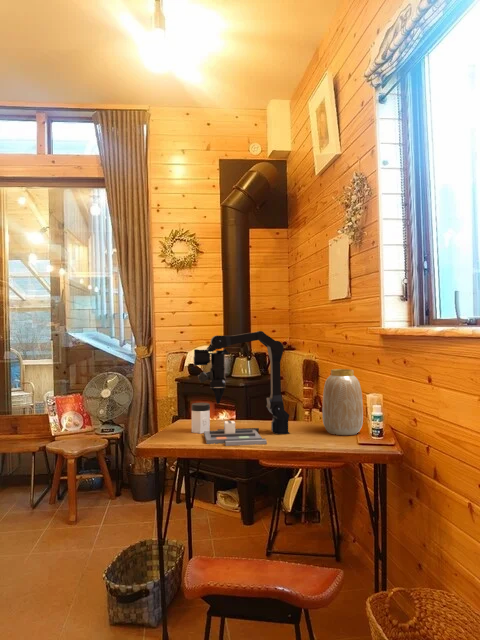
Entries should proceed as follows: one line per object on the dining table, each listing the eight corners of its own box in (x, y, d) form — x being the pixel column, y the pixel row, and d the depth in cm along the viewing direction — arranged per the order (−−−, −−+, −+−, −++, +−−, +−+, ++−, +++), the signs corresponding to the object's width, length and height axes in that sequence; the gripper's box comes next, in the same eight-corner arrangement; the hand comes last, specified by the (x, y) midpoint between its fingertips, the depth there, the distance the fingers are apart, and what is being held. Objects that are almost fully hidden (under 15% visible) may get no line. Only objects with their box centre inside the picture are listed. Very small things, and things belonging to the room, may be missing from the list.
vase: (366, 429, 200) (365, 369, 201) (359, 438, 184) (358, 372, 185) (327, 426, 207) (327, 367, 208) (318, 434, 192) (317, 370, 192)
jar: (196, 434, 192) (196, 406, 192) (187, 430, 199) (187, 403, 199) (214, 431, 197) (214, 404, 197) (205, 428, 204) (205, 401, 204)
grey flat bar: (264, 442, 178) (264, 438, 178) (266, 444, 175) (266, 440, 175) (224, 443, 176) (224, 440, 176) (225, 445, 173) (225, 441, 173)
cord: (258, 431, 198) (258, 428, 198) (258, 431, 196) (258, 428, 196) (217, 432, 195) (217, 429, 195) (217, 433, 194) (217, 430, 194)
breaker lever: (233, 433, 187) (233, 420, 187) (235, 435, 183) (235, 422, 183) (224, 433, 187) (224, 420, 187) (225, 435, 182) (225, 422, 182)
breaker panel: (255, 432, 194) (255, 427, 194) (262, 441, 179) (262, 435, 179) (204, 434, 191) (204, 428, 191) (206, 444, 175) (206, 437, 175)
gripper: (200, 363, 200) (201, 398, 200) (197, 367, 182) (197, 405, 181) (225, 363, 201) (226, 398, 200) (224, 366, 182) (225, 405, 182)
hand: (218, 401), depth 191 cm, fingers open, 9 cm apart
